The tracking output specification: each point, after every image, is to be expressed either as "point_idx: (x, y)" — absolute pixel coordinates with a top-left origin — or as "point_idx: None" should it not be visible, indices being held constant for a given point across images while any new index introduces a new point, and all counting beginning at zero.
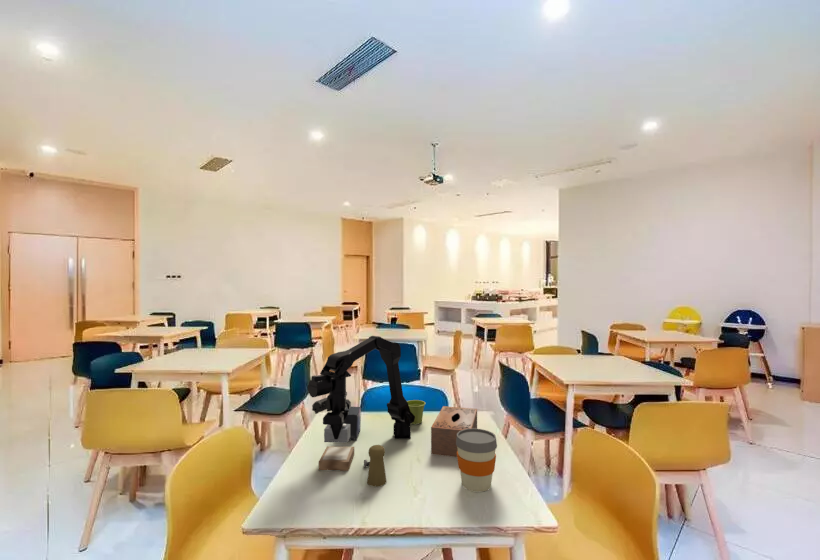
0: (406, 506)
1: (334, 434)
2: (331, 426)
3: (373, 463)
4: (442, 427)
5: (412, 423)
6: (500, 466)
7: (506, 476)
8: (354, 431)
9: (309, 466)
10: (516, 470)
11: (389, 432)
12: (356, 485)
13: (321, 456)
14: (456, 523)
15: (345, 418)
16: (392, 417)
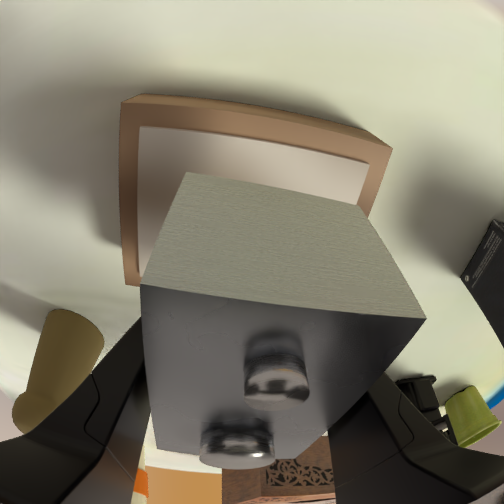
0: (6, 357)
1: (124, 346)
2: (44, 427)
3: (28, 381)
4: (254, 500)
5: (454, 397)
6: (188, 465)
7: (153, 461)
8: (484, 301)
9: (210, 25)
10: (175, 468)
11: (449, 362)
12: (36, 278)
13: (206, 109)
14: (5, 391)
15: (335, 488)
16: (446, 422)
